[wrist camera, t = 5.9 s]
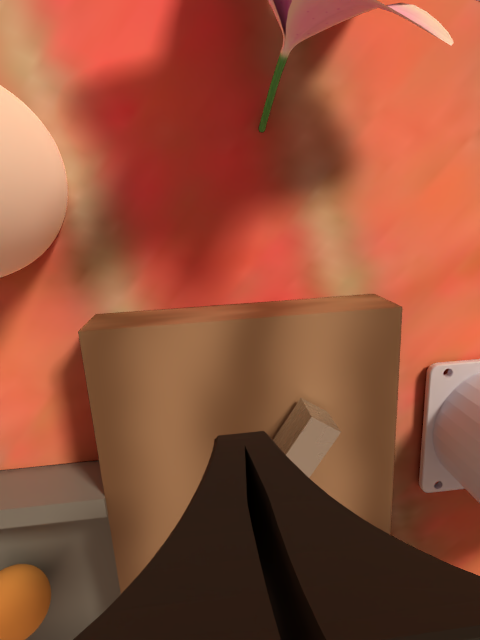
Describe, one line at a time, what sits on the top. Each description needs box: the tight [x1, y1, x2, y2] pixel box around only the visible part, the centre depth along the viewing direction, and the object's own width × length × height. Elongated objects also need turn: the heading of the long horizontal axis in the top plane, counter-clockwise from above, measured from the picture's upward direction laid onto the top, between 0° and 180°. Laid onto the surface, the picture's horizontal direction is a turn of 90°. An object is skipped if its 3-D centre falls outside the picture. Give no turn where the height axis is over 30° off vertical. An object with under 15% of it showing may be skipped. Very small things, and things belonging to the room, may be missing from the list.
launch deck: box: [78, 294, 402, 593], centre depth 21 cm, size 14×20×3 cm
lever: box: [273, 398, 341, 478], centre depth 19 cm, size 3×15×2 cm, turn 150°
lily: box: [259, 0, 480, 132], centre depth 14 cm, size 12×12×10 cm
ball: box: [0, 564, 51, 640], centre depth 21 cm, size 4×4×4 cm
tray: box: [0, 460, 121, 640], centre depth 22 cm, size 10×14×3 cm
